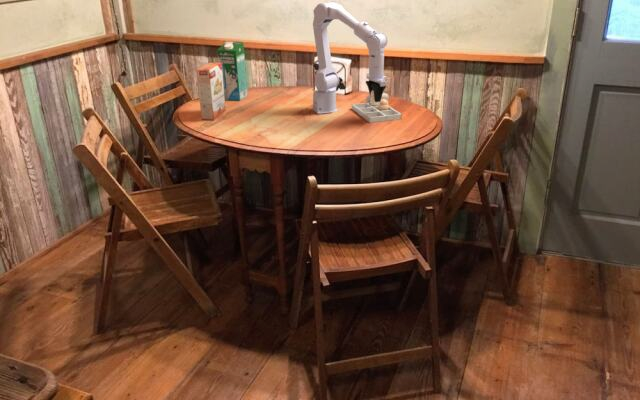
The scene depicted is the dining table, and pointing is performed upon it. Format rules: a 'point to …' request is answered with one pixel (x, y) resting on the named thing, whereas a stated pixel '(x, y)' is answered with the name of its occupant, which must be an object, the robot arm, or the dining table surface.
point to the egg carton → (375, 113)
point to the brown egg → (383, 105)
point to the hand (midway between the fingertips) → (375, 100)
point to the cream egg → (372, 101)
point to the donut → (384, 96)
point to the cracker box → (211, 90)
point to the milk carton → (233, 70)
